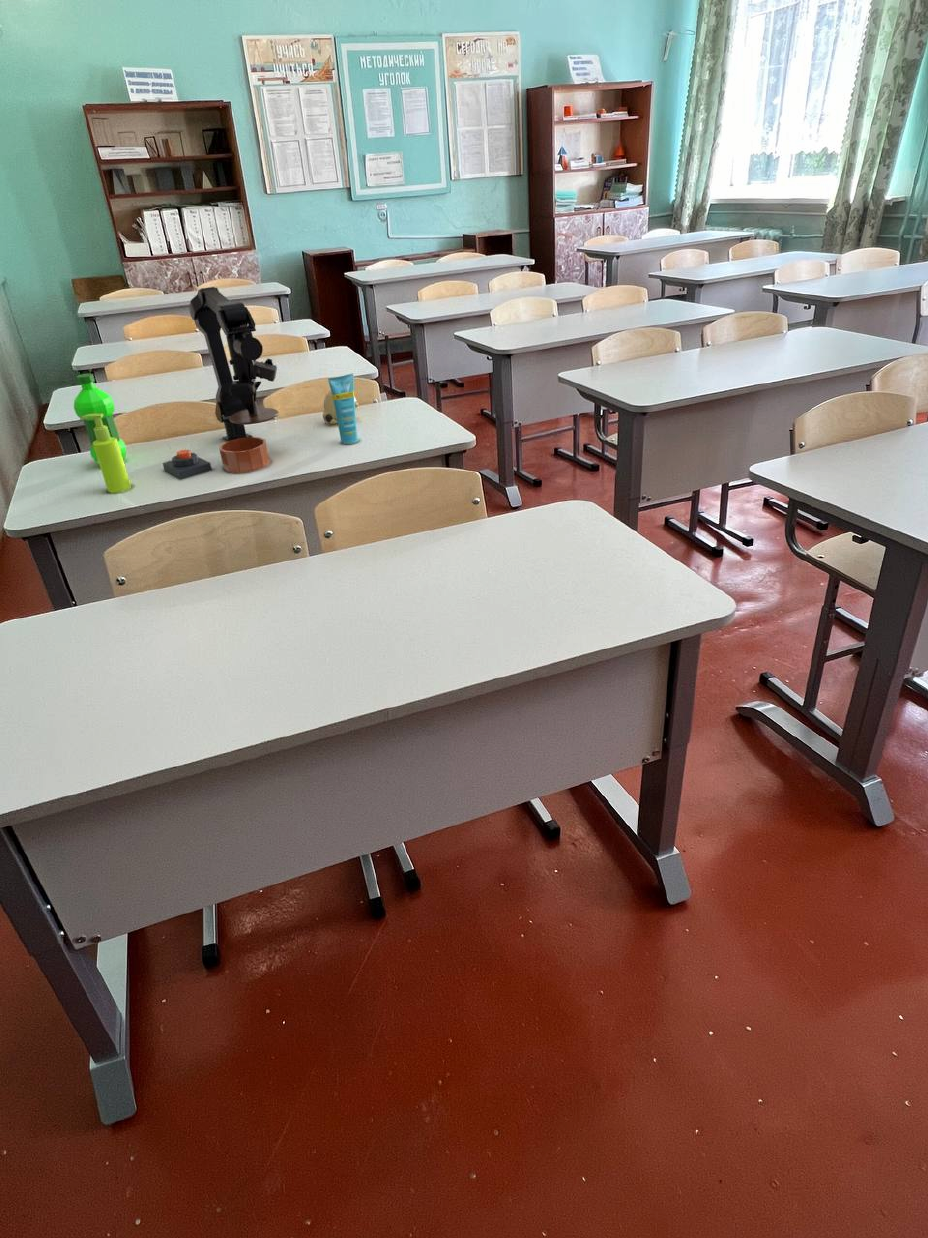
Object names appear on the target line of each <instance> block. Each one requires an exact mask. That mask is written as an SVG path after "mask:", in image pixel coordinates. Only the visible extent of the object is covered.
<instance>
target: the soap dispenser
mask: <svg viewBox="0 0 928 1238" xmlns="http://www.w3.org/2000/svg"><path fill="white" fill-rule="evenodd" d="M103 416H104V415H103V414H88V415H85V416H82V417H81V418H79V420H81V421H83V419H88V418H94V421H95V424H96V427H95V428H94V429H93V430H94V433H95V436H96V439H97V440H96V441H94V442H93V443H92V444H93V447H94V450H95V453H96V456H97V459H98V462H99V463H98V462H97V463H98V465H99V468H100V472H101V474H102V477H103V480H104V483H105V486H106V489H107V492H108V493H111V494H118V493H124V492H127V491H129V490H130V489H132V484H131V480H130V478H129V474H128V471H127V468H126V465H125V461H124V459H123V458H122V455H121V451H120V448H119V445H118V442H117V439H116V438H113V437H110V433H109V430H108V427H107V426H105V425H103V423H102V420H101V418H102V417H103Z"/></svg>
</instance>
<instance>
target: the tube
mask: <svg viewBox="0 0 928 1238" xmlns="http://www.w3.org/2000/svg"><path fill="white" fill-rule="evenodd" d="M327 381H328V384H329V388H330V390H331V392H332V396H333V401H334V406H335V411H336V416H337V421H338V423H337V426H338V432H339V437H340V443H341V444H343V445H353V444H356V443H357V442H358V441H359V438H358V437H359V436H358V428H357V427H358V426H357V417H356V416H357V415H356V411H355V401H354V397H355V386H354V385H355V384H354V373H348V374H344V375H339V376H334V377H328V378H327Z"/></svg>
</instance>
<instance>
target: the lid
mask: <svg viewBox="0 0 928 1238" xmlns="http://www.w3.org/2000/svg"><path fill="white" fill-rule="evenodd" d="M278 416H279V411H278V410H277V409H275V408H271V407H258V404H257V400H256V401H254V414H250V413H249V411H248V410H243V411H240V412H237V413H235V414H233V415H231V416H230V417H229V420H230V422H232V423H235V424H244V425H253V424H254V425H255V424H261V423H265V422H269V421H272V420H274V419H276V418H278Z"/></svg>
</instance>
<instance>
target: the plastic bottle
mask: <svg viewBox="0 0 928 1238" xmlns="http://www.w3.org/2000/svg"><path fill="white" fill-rule="evenodd" d="M76 380H77V384H78V385H80V386H81V389H80V391H79V392H78V394H77V395H76V396H75V398H74V401H73V409H74V412H75V414H76V416H77V417H78V418H79V419H80V418H81V417H82V416H85V415H88V414H103V415H104V416H103V417H102V418H101V420H102V423H103V425H105V426H107V427H108V430H109V433H110V437H113V438H116V439H117V442H118V445H119V448H120V451H121V455H122V458H123V460H124V459H125V458H126V455H127V446H126V443H125V442H124V441H123V439H122V438H120V436H119V432H118V429H117V425H116V422H115V419H114V415H113V414H114V412H115V403H114V399H113V398H112V397H111V394H109V393H107V392H106V391H104V390H102V389H100V388H98V387H96V386H95V384H94V382H95V381H96V380H95V377H94V374H93V373H81V374H79V375H76ZM82 422H83V423H84V427H85V430H86V432H87V436H88V439H89V442H90V450H89V451H90V452H89V453H90V456H91V457H92V459H93V460H94V461H95V462H97V463H98V464H99V462H98V459H97V456H96V453H95V450H94V447H93V444H92V443H93V442H94V441H96V440H97V439H96V436H95V433H94V430H93V429H94V428H95V427H96V424H95V421H94V418H88V419H83V420H82Z"/></svg>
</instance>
